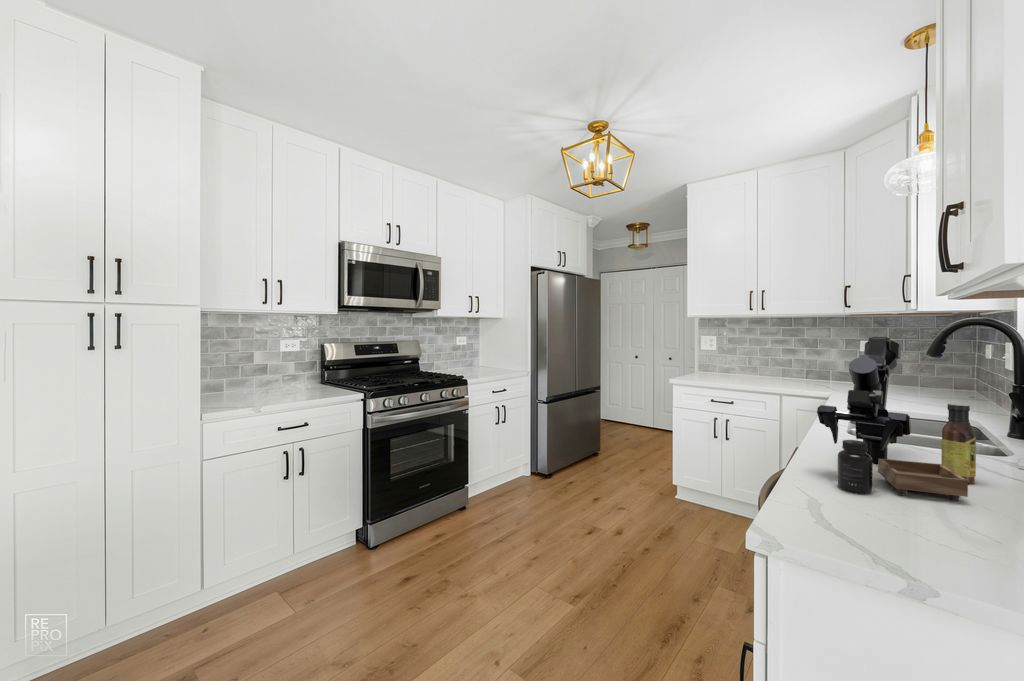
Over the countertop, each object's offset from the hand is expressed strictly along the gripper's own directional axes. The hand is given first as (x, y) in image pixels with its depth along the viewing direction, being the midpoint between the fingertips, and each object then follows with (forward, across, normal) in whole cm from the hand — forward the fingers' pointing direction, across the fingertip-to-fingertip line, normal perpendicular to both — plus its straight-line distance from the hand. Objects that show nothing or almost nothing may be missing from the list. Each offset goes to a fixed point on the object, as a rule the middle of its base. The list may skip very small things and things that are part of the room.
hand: (857, 446), depth 110 cm
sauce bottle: (-9, +17, +24) cm, 31 cm away
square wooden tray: (+2, +11, +12) cm, 17 cm away
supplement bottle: (+10, 0, +5) cm, 11 cm away
